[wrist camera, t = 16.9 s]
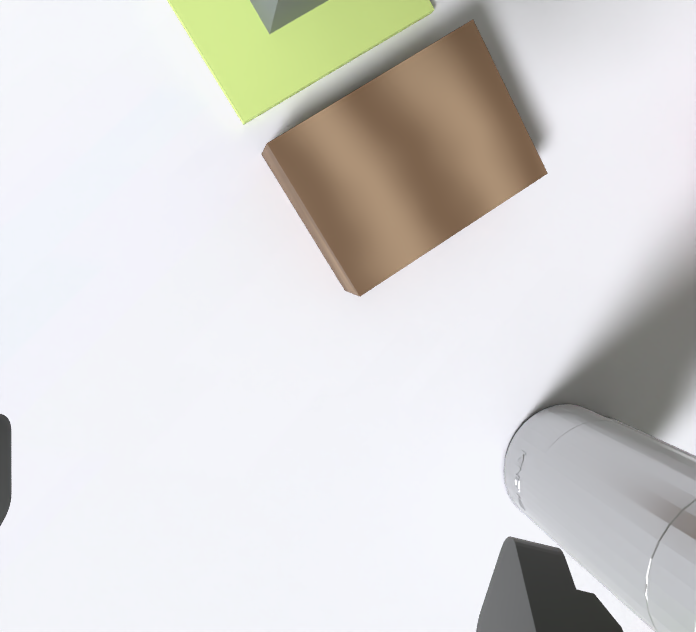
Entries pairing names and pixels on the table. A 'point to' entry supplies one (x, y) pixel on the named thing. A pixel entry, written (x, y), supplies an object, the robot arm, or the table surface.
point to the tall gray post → (282, 11)
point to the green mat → (287, 44)
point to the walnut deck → (406, 160)
